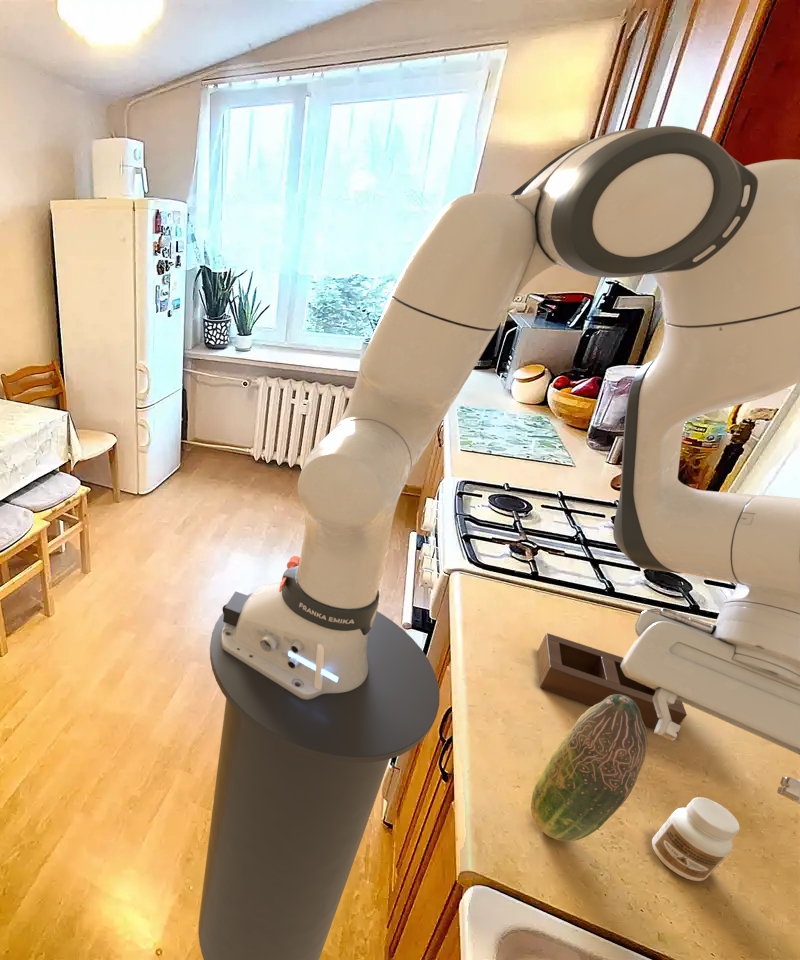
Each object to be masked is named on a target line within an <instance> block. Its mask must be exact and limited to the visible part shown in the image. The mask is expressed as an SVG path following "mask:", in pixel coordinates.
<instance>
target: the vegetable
mask: <svg viewBox="0 0 800 960" xmlns="http://www.w3.org/2000/svg"><path fill="white" fill-rule="evenodd" d="M646 728H647V727H646V726H645V725H644V723H643V721H642V718H641V713H640V710H639V708H638V706H637V704H636V703H635V702H634V701H633V700H632V699H630V698H629V697H627V696H624V695H621V694H614V695H610V696H608V697H607V698H605V699H604V700H603V701H601V702H600V703H598V704H596V705H594V706H590V707H589V708H588V709H587V710H585V712H583V714H581V715H580V716H579V717H578V719H577V720H576V721H575V723H574V725H573V726H572V727H571V728H570V729H569V731H567V734H565V736H564V737H563V739H562V740H561V741H560V743H559V744H558V746H557V747H556V749H555V750H554V752H553V753H552V754H551V757H550V758H549V760H548V761H547V763H546V765H545V767H544V769H542V772H541V775H540V776H539V778H538V779H537V781H536V783H535V785H534V788H533V791H532V794H531V801H530V812H531V815H532V818H533V819H534V822H535V823H536V825H537V826H538V829H540V830H541V832H542V833H544V834H545V835H546V836H547V837H549V838H551V839H554V840H556V841H560V842H576V841H579V840H582V839H584V838H586V837H589V836H590V835H592V834H593V833H595V832H596V831H597V830H599V829H600V828H601V827H602V826H603V825H604V824H605V823H606V822H607V821H608V820H609V819H610V817H611V816H613V815H614V814H615V813H616V812H617V811H618V809H619V808H620V807H622V805H624V803H625V802H626V801H627V799H628V798H629V797H630V794H631V792H632V790H633V789H634V787H635V785H636V782H637V780H638V777H639V774H640V772H641V770H642V768H643V765H644V763H645V761H646V756H647V751H648V743H649V741H648V740H649V739H648V732H647V729H646Z"/></svg>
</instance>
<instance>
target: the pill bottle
mask: <svg viewBox="0 0 800 960" xmlns="http://www.w3.org/2000/svg"><path fill="white" fill-rule="evenodd" d="M740 829H741V828H740V823H739V821H738V819H737V818H736V817H735V816H734V814H733V813H732V812H730V810H728V809H727V808H726V807H725V806H723V805H721V804H720V803H718V802H716V801H714V800H712V799H710V798H706V797H702V796H699V797H698V796H696V797H694V798H693V799H691V801H690V802H689V803H688V804H687V805H686V807H679V808H677V809H675V810H674V811H673V812H672V813H671V814H670V815H669V817H668V818H667V820H665V822H664V823H663V824H662V826H661V827H660V828H659V830H658V831H657V832H656V833H655V835H653V838H652V839H651V845H652V849H653V851H654V853H655V855H656V856H657V857H658V859H659V860H660V861H661V862H662V864H664V866H666V867H667V868H668V869H670V870H671V871H672V872H674V873H675V874H677V875H679V876H680V877H683V878H685V879H687V880H690V881H695V882H702V881H704V880H706V879H707V878H708V877H709V876H710V875H711V874H712V873H713V872H714V871H715V870H716V869H717V867H718V866H720V864H722V862H723V861H724V860H725V859H726V858H727V857H728V856H729V855H730V854H731V852H732V851H733V848H734V846H733V844H734V843H733V838H735V837H736V835H737V834H738V833H739V831H740Z"/></svg>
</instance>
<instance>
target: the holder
mask: <svg viewBox="0 0 800 960" xmlns="http://www.w3.org/2000/svg"><path fill="white" fill-rule="evenodd" d="M536 655H537V667H538V678H539V679H538V681H539V688H540V689H543V690H545V691H548V692H551V693H553V694H556V695H559V696H562V697H565V698H567V699H571V700H573V701H576V702H578V703H581V704H584V705H587V706H590V707H592V706H594V705H596V704H598V703H600V702H601V701H603V700H604V699H605V698H607V697H608V696H610V695H614V694H621V695H624V696H627V697H629V698H630V699H632V700H633V701H634V702H635V703H636V704H637V706H638V708H639V710H640V713H641V718H642V721H643V723H644V725H645V727H646V728H650V729H653V730H655V728H656V725H657V723H658V721H659V718H658V716H657V713H656V709H655V706H654V703H653V700H652V699H653V696H654V694H655V692H656V690H654V689H652V688H650V687H647V686H645V685H643V684H641V683H639V682H636V681H634V680H632V679H630V678H628V677H626V676H625V675H624V673H623V671H622V669H621V663H622V661H623V659H624V657H622V656H620V655H616V654H613V653H610V652H607V651H604V650H600V649H598V648H594V647H592V646H589V645H585V644H583V643H579V642H576V641H573V640H570V639H567V638H564V637H561V636H557V635H554V634H551V633H549V632H546V633H545V635H544V637H543V639H542V641H541V642H540V645H539V647H538V650H537V652H536ZM667 706H668V709H669V713H670V716H671V720H672V722H674V723H676V724H678V725H680V726H681V724H682V722H683V721H684V720H685V718H686V717H687V712H686V709H685V706H684V703H683V702H681V701H679V700H675V703H674V704H671V705H667Z"/></svg>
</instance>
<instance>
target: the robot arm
mask: <svg viewBox="0 0 800 960" xmlns="http://www.w3.org/2000/svg"><path fill="white" fill-rule="evenodd" d="M557 265H558V266H559V267H563V268H565V269H568V270H571V271H576V272H580V273H582V274H584V275H588V276H591V277H597V278H611V279H612V278H613V279H617V278H631V277H638V276H645V275H653V277H654V280H655V281H656V285H657V286H658V288H659V289H660V301H661V311H662V319H663V325H664V326H663V327H664V328H663V329H664V330H663V331H664V333H663V339H662V344H661V347H660V350H659V351H658V354H657V356H656V357H655V358H654V359H652V360H650V361H648V362H646V363H645V364H643V365H642V366H640V368H639V369H638V370H637V371H636V373H635V375H634V377H633V379H632V381H631V384H630V387H629V391H628V395H627V400H626V407H625V416H624V425H623V426H624V427H623V437H622V438H623V440H622V456H621V457H622V458H621V472H620V473H621V476H620V489H619V490H620V491H619V492H620V493H619V498H618V503H617V507H616V511H615V516H614V520H613V521H614V522H613V527H612V528H613V529H612V533H613V534H612V535H613V536H612V537H613V540H614V543H615V544H616V546H617V547H618V549H619V550H620V551H621V552H622V553H623V555H624V556H626V558H627V559H628V560H629V561H631V563H633V564H634V565H635V566H636V567H638V568H640V569H643V570H644V569H645V570H651V571H659V572H666V573H673V574H674V573H675V574H685V575H686V574H687V575H692V576H695V577H700V578H701V577H702V578H706V579H711V580H716V581H721V582H726V583H731V584H736V585H735V588H734V591H733V592H732V593H731V594H730V596H728V597H727V598H726V599H725V601H724V602H723V604H722V606H721V609H720V611H719V614H718V616H717V618H716V620H715V623H714V624H713V625H712V624H711V623H708V622H704V621H703V620H699V619H697V618H692V617H689V616H686V615H683V614H681V613H678V612H677V611H676V610H672V609H670V608H666V607H662V608H661V609H660V608H648V609H645V610H643V611H642V612H640V614H639V615H638V617H637V620H636V622H635V625H634V630H635V634H636V636H637V637H636V639H635V640H634V642H633V643H632V644H631V645H630V647H629V648H628V650H627V652H626V653H625V655H624V657H623V658H624V659H623V661H622V663H621V669H622V671H623V673H624V675H625V676H626V677H628V678H630V679H632V680H634V681H636V682H639V683H641V684H643V685H645V686H647V687H650V688H652V689H654V690H656V692H655V694H654V696H653V699H652V700H653V703H654V706H655V709H656V713H657V716H658V718H659V721H658V723H657V725H656V728H655V729H654V734H656V735H658V736H659V737H662V738H664V739H666V740H668V741H670V742H674V741H676V739H677V737H678V733H680V730H681V727H682V725H681V724H680V725H678V724H676V723H674V722H672V720H671V716H670V713H669V709H668V706H667V705H671V704H674V703H675V700H679V701H681V702H682V703H683V704H685V705H688V706H690V707H691V708H695V709H696V710H699V711H701V712H703V713H705V714H708V715H709V716H712V717H714V718H717V719H719V720H721V721H723V722H725V723H728V724H730V725H732V726H734V727H736V728H739V729H741V730H743V731H746V732H747V733H750V734H752V735H754V736H756V737H758V738H761V739H764V740H765V741H767V742H770V743H773V744H774V745H777V746H778V747H781V748H783V749H785V750H788V751H790V752H791V753H794V754H797V755H799V756H800V497H792V496H791V497H790V496H778V495H766V494H748V493H737V492H725V491H724V492H723V491H713V490H702V489H697V488H693V487H691V486H688V485H686V484H684V483H683V482H681V481H680V480H679V469H680V460H681V451H682V444H683V443H682V442H683V433H684V427H685V424H686V422H688V421H691V420H693V419H696V418H698V417H701V416H703V415H707V414H711V413H713V412H717V411H721V410H723V409H728V408H732V407H736V406H740V405H742V404H746V403H751V402H754V401H757V400H760V399H763V398H765V397H769V396H771V395H774V394H776V393H779V392H781V391H783V390H785V389H788V388H790V387H792V386H795V385H796V384H799V383H800V159H792V158H790V159H789V158H788V159H787V158H786V159H773V160H766V161H765V160H764V161H759V162H755V163H751V164H747V165H743V164H742V163H741V162H740V161H738V160H737V159H735V158H734V157H733V156H732V155H730V154H729V152H728V151H727V150H726V149H725V148H724V147H723V146H722V145H721V144H719V142H717V141H716V140H714V139H713V138H711V137H709V136H708V135H706V134H705V133H702V132H699V131H697V130H695V129H692V128H687V127H683V126H677V125H658V126H651V127H646V128H626V129H620V130H615V131H612V132H609V133H606V134H602V135H600V136H598V137H595V138H592V139H590V140H587V141H585V142H583V143H580V144H578V145H576V146H574V147H571V148H569V149H568V150H566V151H565V152H563V153H561V154H559V155H558V156H556V157H555V158H554V159H552V160H550V162H549V163H547V164H546V165H545V166H544V167H543V168H541V169H540V170H539V171H537V173H535V174H534V175H533V176H532V177H531V178H530V179H528V180H527V181H526V182H524V183H523V184H522V185H521V186H519V187H518V188H517V189H516V190H514V191H513V192H511V193H510V194H508V193H504V192H499V191H498V192H497V191H477V192H471V193H468V194H467V193H466V194H464V195H461V196H459V197H456V198H455V199H453V200H451V201H450V202H449V203H447V204H446V205H445V206H444V207H443V208H442V209H441V210H440V211H439V212H438V214H437V216H436V217H435V218H434V220H433V221H432V223H431V224H430V226H429V227H428V229H427V230H426V232H425V233H424V235H423V236H422V238H421V239H420V240H419V242H418V244H417V246H416V247H415V249H414V251H413V252H412V254H411V256H410V257H409V259H408V261H407V263H406V265H405V266H404V268H403V270H402V272H401V274H400V276H399V277H398V279H397V282H396V284H395V285H394V288H393V290H392V292H391V294H390V296H389V298H388V300H387V303H386V305H385V307H384V309H383V312H382V314H381V315H380V318H379V320H378V322H377V325H376V327H375V329H374V331H373V333H372V335H371V338H370V339H369V341H368V344H367V347H366V348H365V351H364V353H363V355H362V357H361V359H360V362H359V368H358V369H359V370H358V373H357V376H356V380H355V382H354V386H353V388H352V392H351V395H350V396H349V397H350V398H349V400H348V403H347V405H346V408H345V410H344V412H343V414H342V416H341V418H340V419H339V421H338V422H337V424H336V425H335V426H334V427H333V429H332V430H331V431H330V432H329V433H328V434H327V435H326V436H325V437H324V438H322V439H321V440H320V441H319V442H318V443H317V444H316V445H315V446H314V447H313V448H311V450H310V452H309V454H308V456H307V458H306V460H305V462H304V464H303V466H302V468H301V470H300V474H299V477H298V480H297V495H298V498H299V501H300V504H301V506H302V508H303V513H304V531H303V538H302V545H301V549H300V554H299V555H300V556H298V555H293V556H291V557H290V558H289V561H288V562H287V563H286V570H284V572H283V574H282V578H281V581H277V582H273V583H272V582H271V583H267V584H263V585H261V586H259V587H258V588H257V589H256V590H254V591H253V592H251V593H252V595H251V596H248V595H249V594H245V593H241V592H239V591H234V593H233V594H232V596H231V597H230V599H229V600H228V602H227V603H226V604H224V605H223V606H222V609H221V610H222V613H224V618H223V622H225V624H224V627H223V630H222V634H221V645H222V648H223V649H224V650H225V651H226V652H228V653H230V654H231V655H233V656H234V657H236V658H238V659H239V660H241V661H242V662H244V663H245V664H247V665H249V666H250V667H252V668H253V669H255V670H257V671H258V672H260V673H261V674H263V675H265V676H266V677H268V678H269V679H271V680H272V681H274V682H276V683H277V684H279V685H280V686H282V687H284V688H285V689H287V690H288V691H290V692H292V693H293V694H295V695H296V696H298V697H300V698H302V699H306V700H308V699H312V698H315V697H317V696H319V695H321V694H328V693H343V692H348V691H351V690H353V689H355V688H357V687H359V686H360V685H361V684H362V683H363V682H364V681H365V679H366V677H367V675H368V661H367V642H368V633H369V631H370V629H371V628H372V626H373V623H374V619H375V616H376V612H377V611H378V608H379V605H380V603H379V601H380V590H379V588H380V584H381V580H382V577H383V574H384V571H385V566H386V562H387V559H388V555H389V551H390V539H391V533H392V527H393V522H394V517H395V513H396V509H397V505H398V502H399V500H400V497H401V494H402V492H403V490H404V488H405V485H406V483H407V482H408V480H409V478H410V476H411V474H412V472H413V471H414V469H415V467H416V465H417V464H418V463H419V460H420V459H421V457H422V455H423V453H424V452H425V450H426V449H427V447H428V445H429V444H430V442H431V440H432V439H433V437H434V435H435V433H436V431H437V430H438V429H439V427H440V425H441V423H442V422H443V420H444V419H445V417H446V415H447V413H448V412H449V410H450V408H451V407H452V406H453V404H454V402H455V401H456V399H457V397H458V395H459V394H460V392H461V390H462V389H463V387H464V386H465V384H466V383H467V381H468V379H469V378H470V375H471V374H472V372H473V370H474V369H475V367H476V365H477V363H478V362H479V360H480V359H481V357H482V356H483V354H484V352H485V350H486V348H487V347H488V345H489V343H490V342H491V340H492V339H493V337H494V335H495V334H496V331H498V328H499V327H500V324H501V323H502V321H503V319H504V317H505V316H506V314H507V312H508V310H509V309H510V306H511V304H512V302H513V301H514V298H516V297H517V296H518V295H519V294H520V293H521V291H522V290H523V289H524V288H525V287H526V286H527V285H528V284H529V283H530V282H531V281H532V280H533V279H534V278H536V277H537V276H538V275H540V274H541V273H543V272H544V271H546V270H547V269H550V268H552V267H555V266H557ZM297 686H299V687H297ZM779 784H780V786H778V787H777V790H776V791H777V794H778V795H780V796H782V797H785V798H786V799H789V800H790V801H792V802H794V803H797V804H800V779H795V778H793V777H792V776H791V777H790V776H782V777H781V779H780V782H779Z"/></svg>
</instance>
